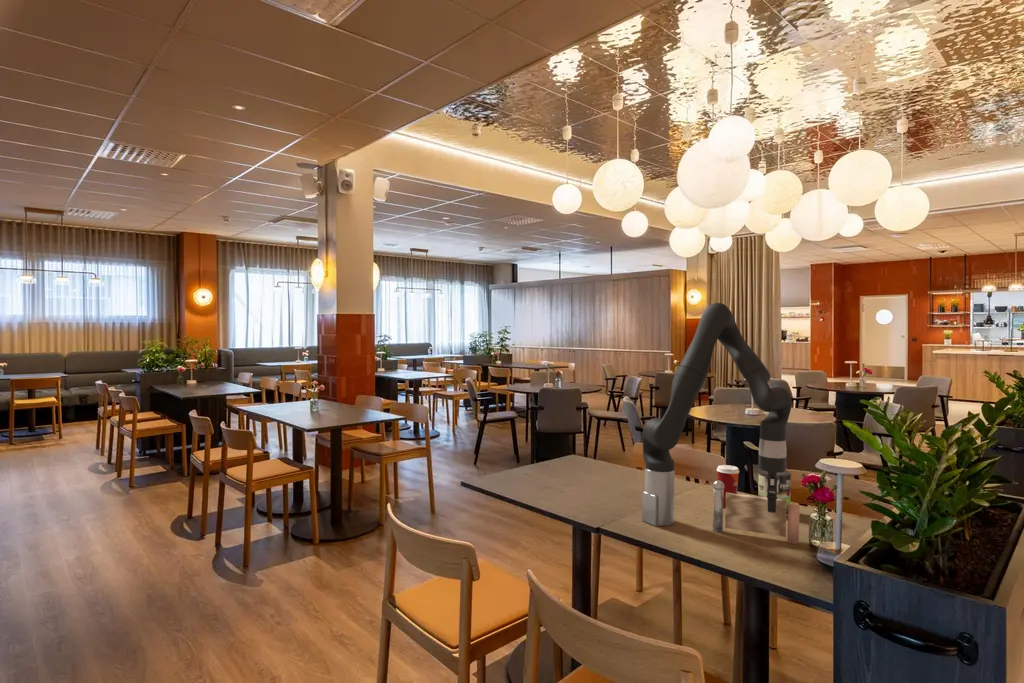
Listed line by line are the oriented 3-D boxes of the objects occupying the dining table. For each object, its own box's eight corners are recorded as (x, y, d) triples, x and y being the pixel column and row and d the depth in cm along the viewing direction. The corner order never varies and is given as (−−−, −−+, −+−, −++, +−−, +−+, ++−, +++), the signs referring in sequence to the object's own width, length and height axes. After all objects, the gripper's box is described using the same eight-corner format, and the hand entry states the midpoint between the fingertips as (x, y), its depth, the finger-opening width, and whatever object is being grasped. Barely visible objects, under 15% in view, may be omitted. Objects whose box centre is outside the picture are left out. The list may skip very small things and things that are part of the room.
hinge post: (718, 533, 172) (719, 482, 171) (709, 529, 175) (710, 479, 174) (725, 531, 173) (726, 481, 173) (716, 528, 176) (717, 478, 176)
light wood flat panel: (725, 528, 172) (725, 494, 172) (725, 526, 174) (726, 492, 174) (785, 537, 165) (786, 501, 165) (785, 534, 167) (786, 499, 167)
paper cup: (740, 510, 194) (741, 470, 194) (717, 509, 195) (718, 469, 195) (736, 503, 202) (737, 465, 201) (714, 502, 203) (714, 463, 203)
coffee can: (796, 513, 191) (797, 472, 191) (780, 519, 185) (781, 477, 185) (767, 505, 200) (768, 466, 199) (751, 510, 194) (752, 470, 193)
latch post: (794, 544, 163) (795, 507, 163) (785, 541, 166) (786, 504, 165) (801, 542, 165) (801, 505, 164) (791, 539, 167) (792, 503, 167)
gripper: (787, 460, 159) (786, 517, 160) (785, 450, 172) (784, 503, 173) (758, 457, 162) (757, 513, 163) (759, 448, 175) (758, 499, 176)
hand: (771, 508), depth 168 cm, fingers open, 8 cm apart
